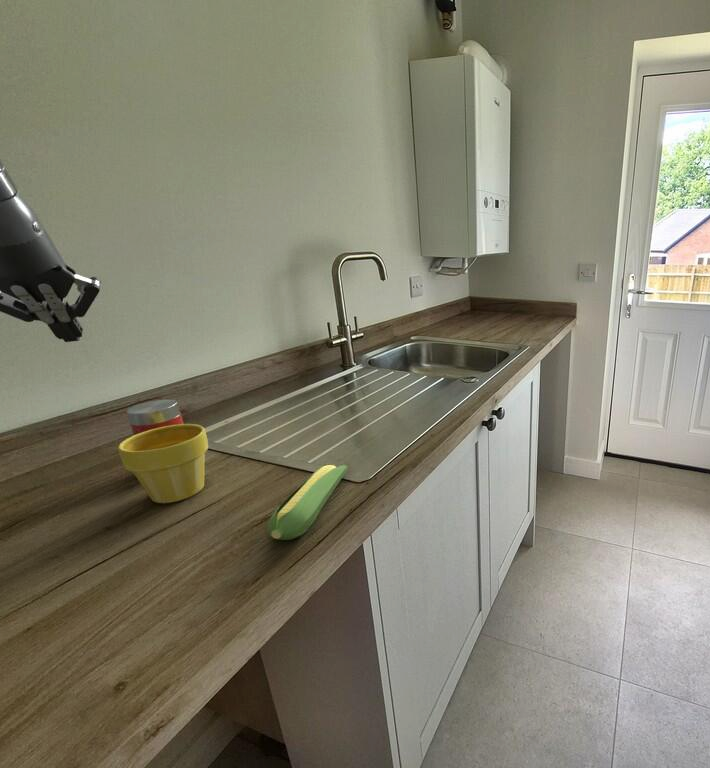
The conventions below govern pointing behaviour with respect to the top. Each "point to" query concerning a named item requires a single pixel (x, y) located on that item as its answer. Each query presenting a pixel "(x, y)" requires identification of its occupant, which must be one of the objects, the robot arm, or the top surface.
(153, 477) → the flower pot
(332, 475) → the edible corn
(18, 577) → the top surface
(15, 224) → the robot arm
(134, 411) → the tin can
